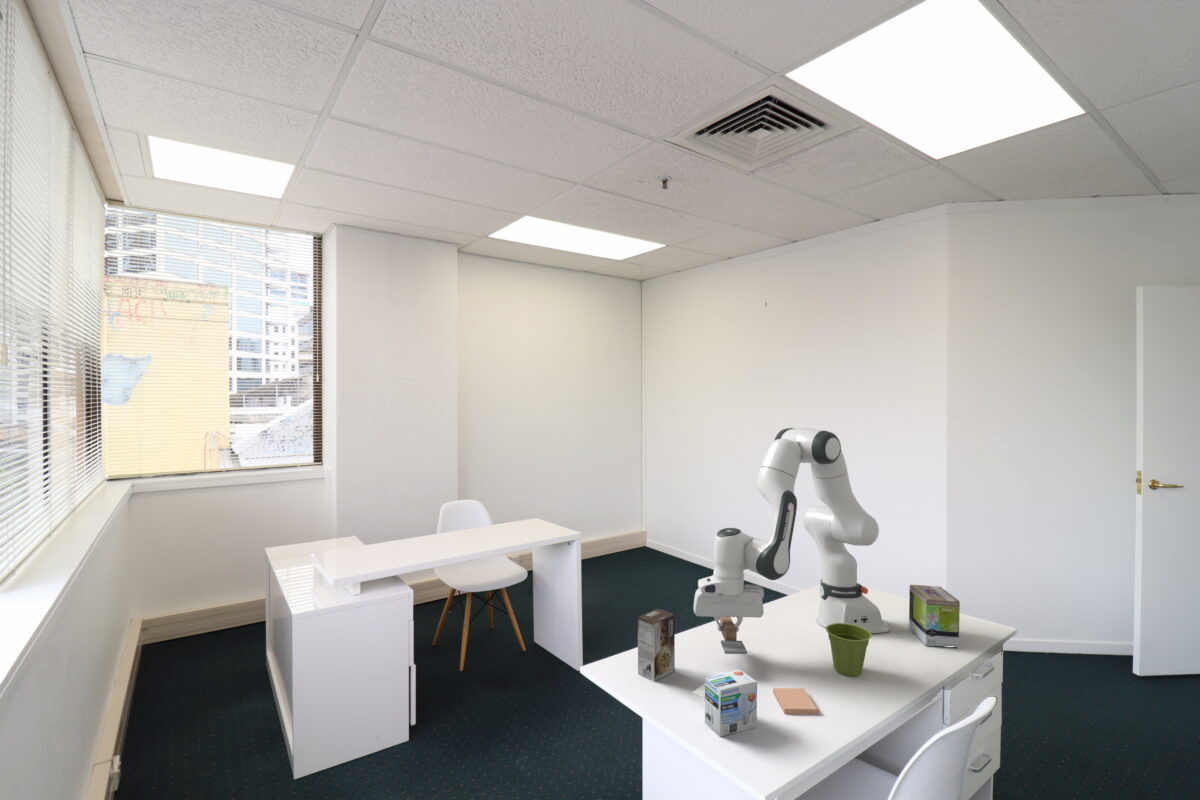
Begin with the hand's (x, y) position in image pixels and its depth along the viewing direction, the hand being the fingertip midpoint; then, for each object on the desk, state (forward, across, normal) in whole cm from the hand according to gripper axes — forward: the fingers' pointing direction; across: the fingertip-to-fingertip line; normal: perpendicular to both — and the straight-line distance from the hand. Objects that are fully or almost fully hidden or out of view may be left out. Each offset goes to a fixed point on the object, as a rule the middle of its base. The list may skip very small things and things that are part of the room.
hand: (728, 630), depth 173 cm
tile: (+7, -12, +21) cm, 25 cm away
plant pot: (+8, -32, +8) cm, 34 cm away
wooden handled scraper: (+2, 0, +4) cm, 4 cm away
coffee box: (+8, +22, +11) cm, 26 cm away
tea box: (+8, -68, -16) cm, 70 cm away
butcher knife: (+8, +7, +18) cm, 21 cm away
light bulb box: (+8, +6, +36) cm, 37 cm away
